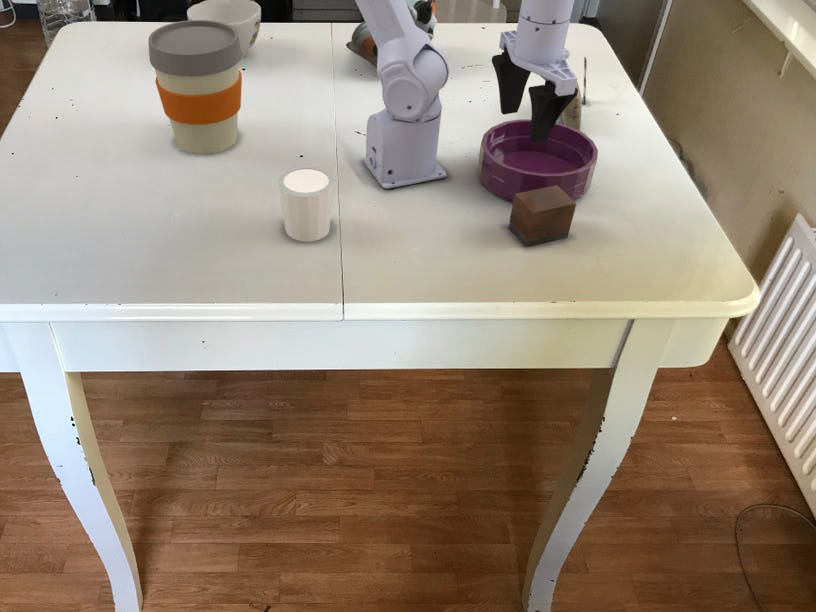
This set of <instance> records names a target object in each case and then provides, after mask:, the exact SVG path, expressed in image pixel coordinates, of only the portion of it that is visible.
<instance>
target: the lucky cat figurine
mask: <svg viewBox="0 0 816 612" xmlns="http://www.w3.org/2000/svg"><path fill="white" fill-rule="evenodd" d="M405 2H406V5H407V7H408V9H409V12H410V14H411V16H412V19H413V21H414V23H415V25H416V26H417V27H418V28H420V29H421V30H423V31H424V32H426V33H427V34H428V36H429V38H430V40H431V41H432V40H433V39H434V36H435V34H434V31H435V27H436V25H437V23H438V20H437V18H436V9H435V5H436V0H405ZM345 46H346V48H347V49H348V50H349V51H351V52H352V53H354V54H355V55H356V56H357V55H358V57H361V58H362V59H364V60H365V61H367V62H369V64H371V66H373V67H374V68H376V69H377V58H378V48H377V46H376V44H375V42H374V39H373V37H372V35H371V33H370V31H369V29H368V27H367V24H366V22H365V21H362V22H360V23H359V24H358V25H357V26H356V27H355V29H354V30H353V32H352V34H351V40H350V41H347V43H346V44H345Z"/></svg>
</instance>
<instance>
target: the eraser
mask: <svg viewBox="0 0 816 612" xmlns="http://www.w3.org/2000/svg"><path fill="white" fill-rule="evenodd" d="M575 201H576V200H572V199H571V198H570V197H569V196H568V195H567V194H566V193H565V192H564V191H563V190H562V189H561V188H560V187H559V186H558V185H555V186H551V187H546V188H541V189H536V190H531V191H526V192H521V193H516V194H515V196H514V201H513V203H512V206H511V212H510V216H509V223H508V229H509V230H510V231H511V233H513V235H514V236H515V237H516V239H518V240H519V242H520V243H522V245H523V246H525V247H531V246H537V245H540V244H544V243H548V242H552V241H553V242H554V241H557V240H562V239H567V238H569V234H570V230H571V226H572V222H573V218H574V215H575V211H576V207H577V202H575Z"/></svg>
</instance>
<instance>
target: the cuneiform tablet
mask: <svg viewBox="0 0 816 612" xmlns="http://www.w3.org/2000/svg"><path fill="white" fill-rule="evenodd" d="M583 62H584V63H583V93H581V90H580V89H581V88H580V85H579V82H578V81H577V82H576V88H577V89H578V94H577V96H576V97H575V98H574V99H573V100H572V101H571V102H570V103H569V105H568V106H567V107H566V108H565V109H564V111H563V112H562V113H561V116H562V118H561V119H562V123H563V125H567V126H570V127H572V128H574V129H576V130H578V131H580V130H581V125H582V110H583V109H582V107H583V105H586V95H587V94H586V93H587V57H586V56H584V57H583ZM571 72H572V71H571ZM572 73H573V74H574V75H575V73H574V72H572ZM575 76H576V75H575ZM582 94H583V97H582ZM582 101H583V102H582Z"/></svg>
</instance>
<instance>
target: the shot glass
mask: <svg viewBox="0 0 816 612" xmlns="http://www.w3.org/2000/svg"><path fill="white" fill-rule="evenodd" d="M277 188H278V194H279V200H280V205H281V213H282V217H283V224H284V229H285V232H286V235H287V236H288V237H290V238H291V239H293V240H295V241H299V242H308V243H309V242H315V241H319V240H321V239H323V238H326V236H327V235H328V234H329V232H330V228H331V218H332V208H333V197H334V188H335V178H334V176H333V174H332V173H331V172H329V171H328V170H326V169H324V168H321V167H316V166H308V165H307V166H305V165H304V166H298V167H293V168H290V169H288V170H285V171H284V172H282V173H281V174H280V175H279V176H278V180H277Z"/></svg>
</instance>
